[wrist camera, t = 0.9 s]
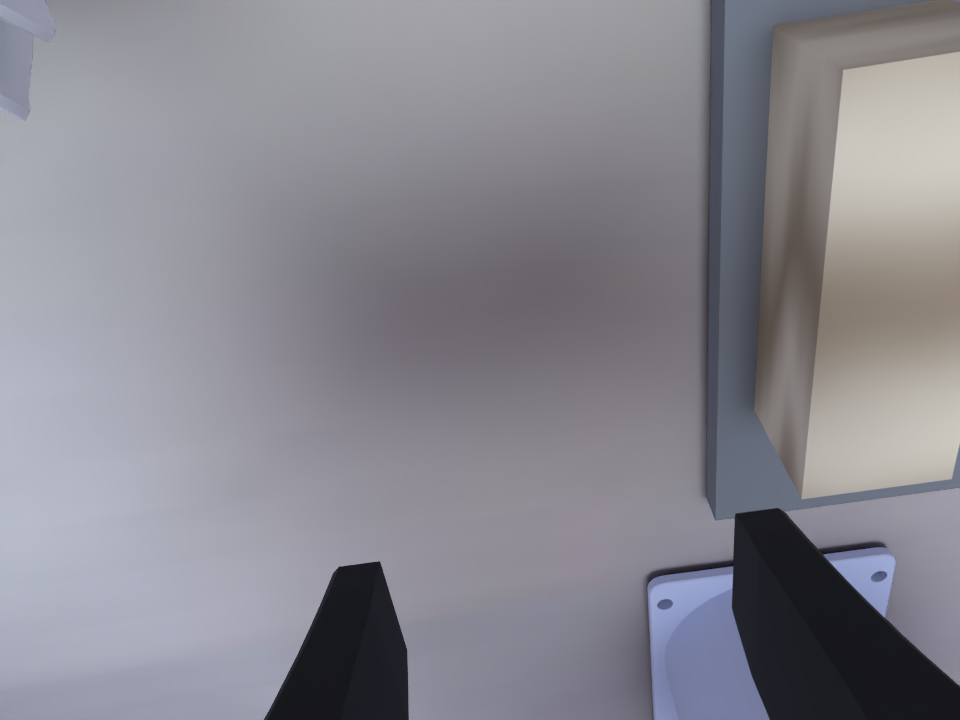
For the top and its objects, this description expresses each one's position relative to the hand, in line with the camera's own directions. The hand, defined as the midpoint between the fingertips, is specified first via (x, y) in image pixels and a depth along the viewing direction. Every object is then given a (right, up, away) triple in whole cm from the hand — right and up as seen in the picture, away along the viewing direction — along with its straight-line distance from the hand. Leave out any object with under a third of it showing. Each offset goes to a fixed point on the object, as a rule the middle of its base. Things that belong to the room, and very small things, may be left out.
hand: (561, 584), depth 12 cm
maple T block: (+10, +7, +7) cm, 14 cm away
